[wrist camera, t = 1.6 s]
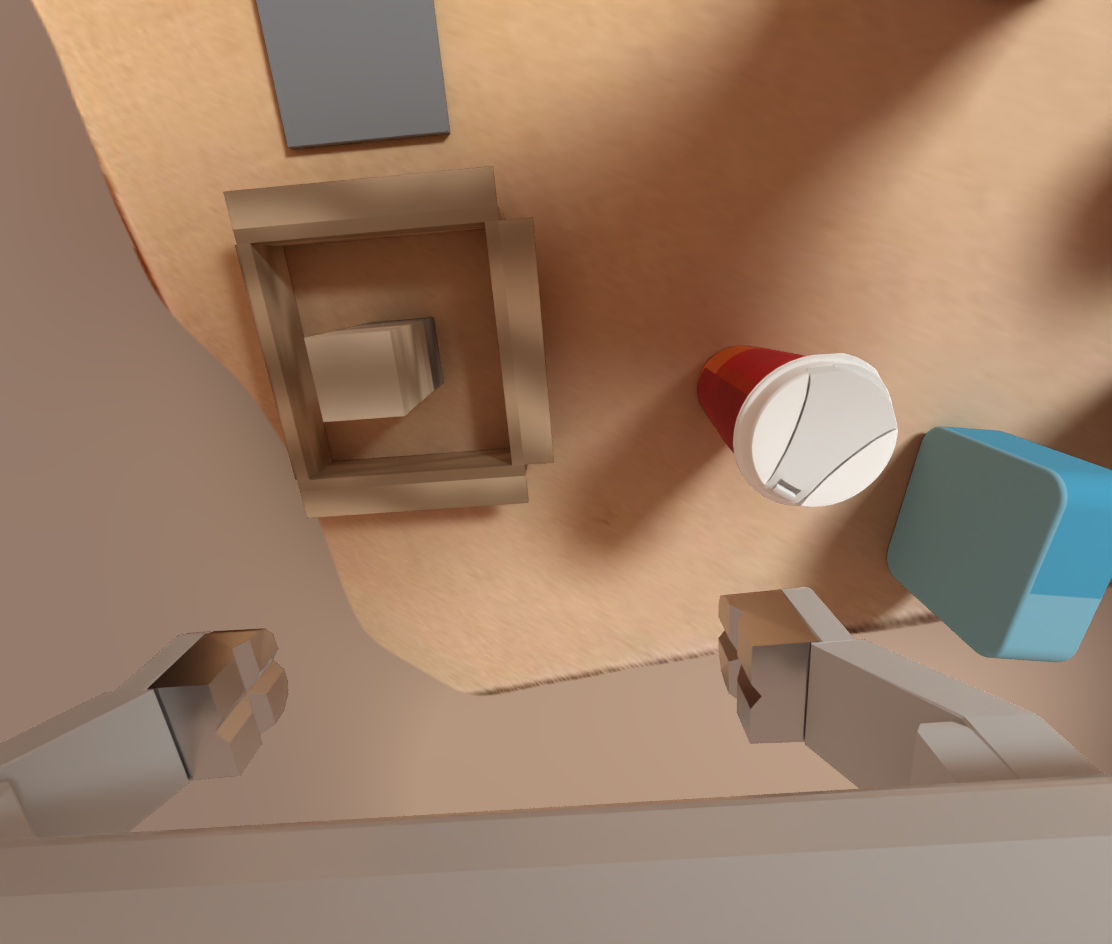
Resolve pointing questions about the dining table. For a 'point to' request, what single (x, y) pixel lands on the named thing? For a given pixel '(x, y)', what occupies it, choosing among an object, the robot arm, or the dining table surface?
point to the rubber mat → (355, 69)
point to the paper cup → (800, 421)
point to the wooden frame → (260, 237)
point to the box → (375, 368)
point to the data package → (1005, 542)
